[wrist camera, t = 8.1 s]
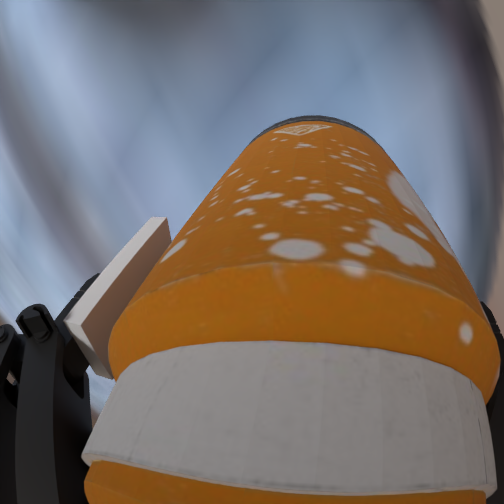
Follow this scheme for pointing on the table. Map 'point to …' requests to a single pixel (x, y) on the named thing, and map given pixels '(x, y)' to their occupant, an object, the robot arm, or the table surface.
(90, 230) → the table surface
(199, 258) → the canister
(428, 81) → the table surface
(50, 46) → the table surface
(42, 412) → the robot arm
